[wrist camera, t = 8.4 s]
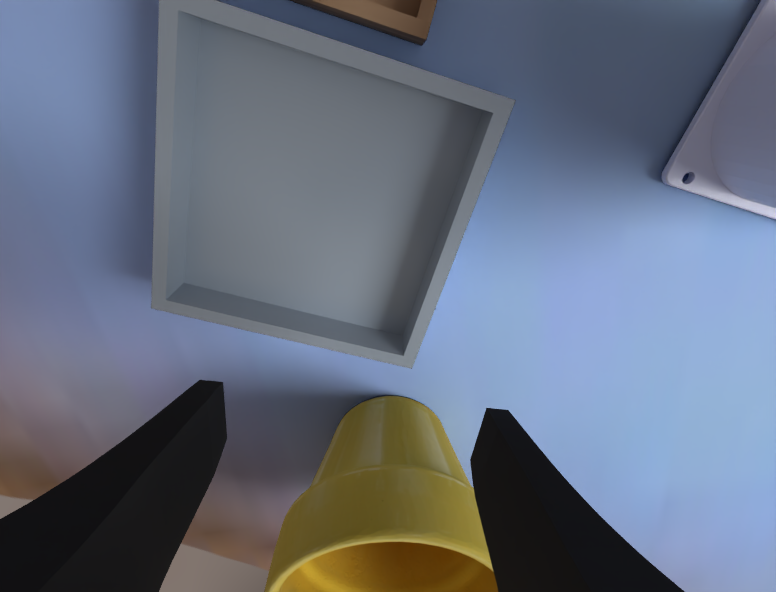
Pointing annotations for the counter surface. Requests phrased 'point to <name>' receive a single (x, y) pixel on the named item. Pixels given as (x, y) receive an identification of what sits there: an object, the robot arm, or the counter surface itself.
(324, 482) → the plant pot
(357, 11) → the tray
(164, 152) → the dish
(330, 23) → the counter surface
